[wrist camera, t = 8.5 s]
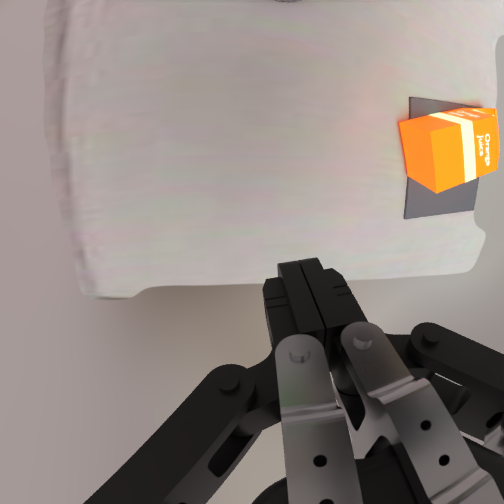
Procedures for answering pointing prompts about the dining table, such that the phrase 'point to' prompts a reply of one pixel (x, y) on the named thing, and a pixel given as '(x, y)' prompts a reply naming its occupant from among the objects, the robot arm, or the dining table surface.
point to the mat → (423, 198)
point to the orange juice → (451, 146)
